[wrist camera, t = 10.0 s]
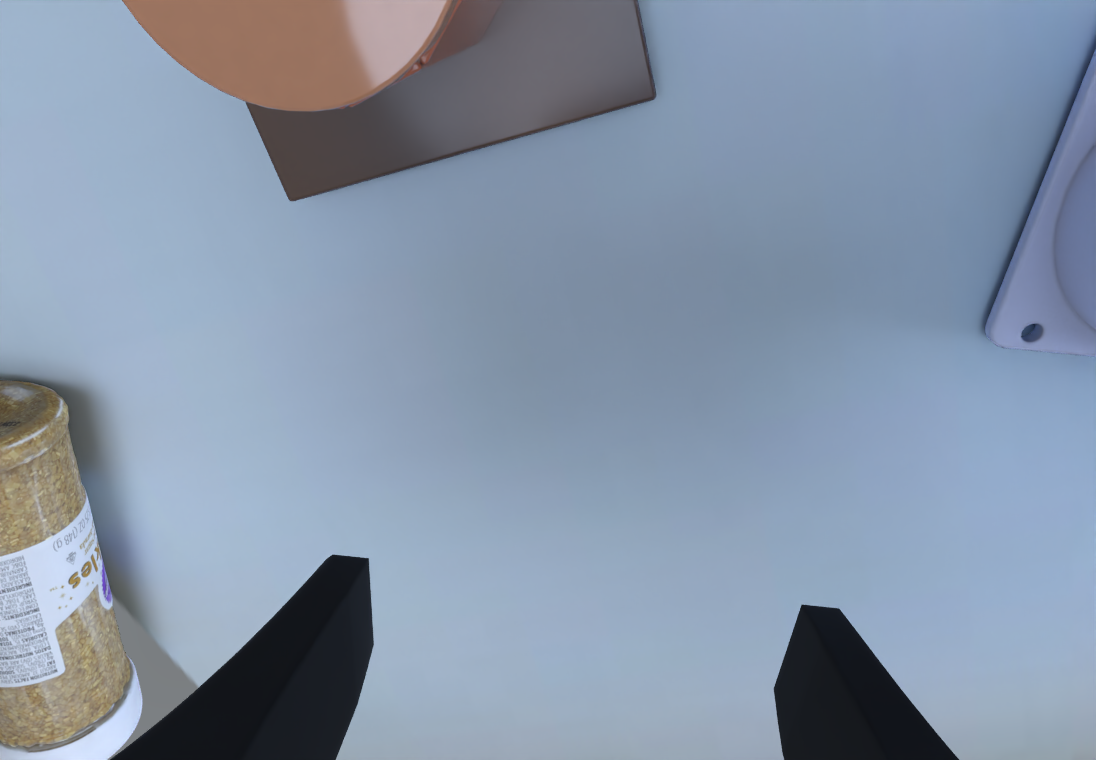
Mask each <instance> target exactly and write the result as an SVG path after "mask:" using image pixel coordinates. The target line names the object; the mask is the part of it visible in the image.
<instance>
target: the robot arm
mask: <svg viewBox="0 0 1096 760" xmlns="http://www.w3.org/2000/svg"><path fill="white" fill-rule="evenodd" d="M1030 324H1035V328H1034V330H1033V331H1032V332H1031V333H1029V334H1028V335H1024V336H1021V332H1022V331H1023V329H1024V328H1025V327H1027V326H1028V325H1030ZM985 332H986V336H987V337H988V338H989V339H990V340H991V341H992V342H993V343H994V344H995V345H997V346H999V347H1002V348H1009V349H1020V350H1030V351H1040V352H1051V353H1061V354H1071V355H1082V356H1092V357H1096V49H1095V51H1094V54H1093V56H1092V59H1091V62H1090V64H1089V67H1088V69H1087V72H1086V74H1085V77H1084V79H1083V82H1082V84H1081V87H1080V89H1079V92H1078V94H1077V97H1076V99H1075V102H1074V104H1073V107H1072V109H1071V112H1070V114H1069V117H1068V119H1067V122H1066V124H1065V127H1064V129H1063V132H1062V134H1061V137H1060V139H1059V142H1058V144H1057V147H1056V149H1055V152H1054V154H1053V157H1052V159H1051V162H1050V164H1049V167H1048V169H1047V172H1046V174H1045V177H1044V179H1043V182H1042V184H1041V187H1040V190H1039V192H1038V195H1037V197H1036V200H1035V202H1034V205H1033V207H1032V210H1031V212H1030V215H1029V217H1028V220H1027V222H1026V225H1025V227H1024V230H1023V232H1022V235H1021V237H1020V240H1019V242H1018V245H1017V247H1016V250H1015V252H1014V255H1013V257H1012V260H1011V262H1010V265H1009V267H1008V270H1007V272H1006V275H1005V277H1004V280H1003V282H1002V285H1001V287H1000V290H999V292H998V295H997V297H996V300H995V302H994V305H993V307H992V310H991V313H990V315H989V318H988V320H987V323H986V327H985ZM373 645H374V642H373V625H372V608H371V591H370V574H369V558H360V557H350V556H341V555H332V556H330V557H329V558H327V559H326V560H325V561H324V562H323V564H322V565H321V566H320V567H319V568H318V569H317V570H316V571H315V572H314V574H313V575H312V576H311V577H310V578H309V579H308V580H307V581H306V582H305V584H304V585H303V586H302V587H301V588H300V589H299V590H298V591H297V592H296V593H295V594H294V595H293V596H292V598H291V599H290V600H289V601H288V602H287V603H286V604H285V605H284V606H283V607H282V608H281V609H280V610H279V611H278V612H277V613H276V614H275V615H274V616H273V617H272V618H271V619H270V620H269V621H268V622H267V623H266V624H265V625H264V626H263V627H262V628H261V629H260V630H259V631H258V632H257V633H256V634H255V635H254V636H253V637H252V638H251V639H250V640H249V641H248V642H247V643H246V644H245V645H244V646H243V647H242V648H241V649H240V650H239V651H238V652H237V653H236V654H235V655H234V656H233V657H232V658H231V659H230V660H229V661H228V662H227V663H225V664H224V665H223V666H222V667H221V668H220V669H219V670H218V671H217V672H216V673H214V674H213V675H212V676H211V677H210V678H209V679H208V680H207V681H206V682H205V683H203V684H202V685H201V686H200V687H199V688H198V689H197V690H196V691H195V692H194V693H193V694H191V695H190V696H189V697H188V698H187V699H186V700H184V701H183V702H182V703H181V704H180V705H179V706H177V707H176V708H175V709H174V710H173V711H171V712H170V713H169V714H168V715H167V716H166V717H164V718H163V719H162V720H161V721H159V722H158V723H157V724H156V725H154V726H153V727H152V728H151V729H149V730H148V731H147V732H146V733H144V734H143V735H142V736H140V737H139V738H138V739H137V740H136V741H134V742H133V743H132V744H130V745H129V746H128V747H126V748H125V749H124V750H123V751H121V752H120V753H118V754H117V755H116V756H114V757H113V758H112V759H110V760H336V757H337V755H338V752H339V750H340V747H341V745H342V742H343V740H344V737H345V735H346V732H347V730H348V727H349V724H350V722H351V719H352V717H353V714H354V712H355V709H356V706H357V704H358V700H359V697H360V693H361V690H362V686H363V683H364V679H365V675H366V672H367V668H368V664H369V660H370V657H371V653H372V649H373ZM774 694H775V702H776V710H777V718H778V725H779V732H780V739H781V745H782V752H783V756H784V760H959V759H958V758H957V757H956V756H955V754H954V753H953V752H952V751H951V750H950V749H949V747H948V746H947V745H946V744H945V743H944V742H943V740H942V739H941V738H940V737H939V736H938V734H937V733H936V732H935V731H934V729H933V728H932V727H931V726H930V724H929V723H928V722H927V721H926V720H925V718H924V717H923V716H922V715H921V713H920V712H919V711H918V710H917V709H916V707H915V706H914V705H913V704H912V702H911V701H910V700H909V699H908V697H907V696H906V695H905V694H904V692H903V691H902V690H901V689H900V687H899V686H898V685H897V683H896V682H895V681H894V680H893V678H892V677H891V676H890V674H889V673H888V672H887V670H886V669H885V668H884V667H883V665H882V664H881V663H880V661H879V660H878V659H877V657H876V656H875V655H874V653H873V652H872V651H871V650H870V648H869V647H868V646H867V644H866V643H865V642H864V640H863V639H862V638H861V636H860V635H859V634H858V632H857V631H856V630H855V628H854V627H853V626H852V625H851V623H850V622H849V621H848V619H847V618H846V617H845V615H844V614H843V613H842V612H841V610H840V609H838V608H829V607H819V606H810V605H801V608H800V611H799V614H798V617H797V620H796V623H795V626H794V629H793V632H792V636H791V639H790V642H789V645H788V648H787V651H786V654H785V657H784V660H783V663H782V666H781V669H780V672H779V675H778V678H777V681H776V684H775V687H774Z"/></svg>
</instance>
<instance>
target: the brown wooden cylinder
mask: <svg viewBox="0 0 1096 760" xmlns="http://www.w3.org/2000/svg"><path fill="white" fill-rule="evenodd" d="M122 1H123V2H124V4H125V5H126V6H127V8H128V9H129V10H130V12H131V13H132V15H133V16H134V17H135V19H136V20H137V21H138V23H139V24H140V25H141V26H142V27H143V28H144V29H145V31H146V32H147V33H148V34H149V35H150V36H151V37H152V38H153V40H154V41H155V42H156V43H157V44H158V45H159V46H160V47H161V48H162V49H164V50H165V51H166V52H167V53H168V54H169V55H170V56H171V57H172V58H173V59H174V60H176V61H177V62H178V63H179V64H181V65H182V66H183V67H185V68H186V69H187V70H189V71H190V72H191V73H193V74H194V75H195V76H197V77H198V78H200V79H201V80H203V81H205V82H206V83H208V84H210V85H212V86H213V87H215V88H217V89H218V90H220V91H222V92H224V93H227V94H229V95H231V96H233V97H236V98H238V99H240V100H243V101H245V102H249V103H252V104H256V105H259V106H262V107H266V108H271V109H277V110H284V111H294V112H315V111H323V110H331V109H344V108H347V107H354V106H356V105H358V104H360V103H362V102H364V101H366V100H368V99H370V98H372V97H374V96H376V95H379V94H381V93H383V92H385V91H387V90H389V89H391V88H393V87H395V86H397V85H399V84H401V83H403V82H405V81H407V80H409V79H411V78H413V77H415V76H418V75H420V74H422V73H424V72H426V71H428V70H430V69H431V68H433V67H435V66H437V65H439V64H441V63H442V62H444V61H446V60H448V59H450V58H452V57H454V56H455V55H457V54H459V53H461V52H463V51H465V50H466V49H468V48H470V47H472V46H474V45H476V44H477V41H479V40H481V39H482V37H483V35H484V34H485V32H486V30H487V28H488V27H489V25H490V23H491V21H492V20H493V18H494V16H495V14H496V13H497V11H498V9H499V7H500V6H501V4H502V2H503V1H504V0H122Z"/></svg>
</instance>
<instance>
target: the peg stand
mask: <svg viewBox="0 0 1096 760" xmlns="http://www.w3.org/2000/svg"><path fill="white" fill-rule="evenodd" d="M655 98H656V90H655V85H654V80H653V75H652V70H651V65H650V60H649V55H648V50H647V45H646V40H645V35H644V30H643V25H642V20H641V15H640V10H639V5H638V0H504V1H503V2H502V4H501V6H500V7H499V9H498V11H497V13H496V14H495V16H494V18H493V20H492V21H491V23H490V25H489V27H488V28H487V30H486V32H485V34H484V35H483V37H482V39H481V40H479V41H477V44H476V45H474V46H472V47H470V48H468V49H466V50H465V51H463V52H461V53H459V54H457V55H455V56H454V57H452V58H450V59H448V60H446V61H444V62H442V63H441V64H439V65H437V66H435V67H433V68H431V69H430V70H428V71H426V72H424V73H422V74H420V75H418V76H415V77H413V78H411V79H409V80H407V81H405V82H403V83H401V84H399V85H397V86H395V87H393V88H391V89H389V90H387V91H385V92H383V93H381V94H379V95H376V96H374V97H372V98H370V99H368V100H366V101H364V102H362V103H360V104H358V105H356V106H354V107H347V108H344V109H331V110H323V111H315V112H294V111H284V110H277V109H271V108H266V107H262V106H259V105H256V104H252V103H249V102H246V105H247V107H248V109H249V111H250V114H251V116H252V118H253V120H254V123H255V125H256V127H257V129H258V132H259V134H260V136H261V138H262V141H263V143H264V145H265V147H266V150H267V152H268V154H269V156H270V159H271V161H272V163H273V165H274V168H275V170H276V172H277V174H278V177H279V179H280V181H281V183H282V186H283V188H284V190H285V192H286V195H287V197H288V199H289V200H290V201H297V200H300V199H304V198H307V197H311V196H315V195H318V194H322V193H325V192H329V191H332V190H336V189H339V188H343V187H346V186H350V185H354V184H357V183H361V182H364V181H368V180H371V179H375V178H378V177H382V176H385V175H389V174H392V173H396V172H400V171H403V170H407V169H410V168H414V167H417V166H421V165H424V164H428V163H431V162H435V161H438V160H442V159H446V158H449V157H453V156H456V155H460V154H463V153H467V152H470V151H474V150H477V149H481V148H485V147H488V146H492V145H495V144H499V143H502V142H506V141H509V140H513V139H516V138H520V137H523V136H527V135H531V134H534V133H538V132H541V131H545V130H548V129H552V128H555V127H559V126H562V125H566V124H569V123H573V122H577V121H580V120H584V119H587V118H591V117H594V116H598V115H601V114H605V113H608V112H612V111H616V110H619V109H623V108H626V107H630V106H633V105H637V104H640V103H644V102H647V101H651V100H653V99H655Z"/></svg>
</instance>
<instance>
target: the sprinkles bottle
mask: <svg viewBox="0 0 1096 760" xmlns="http://www.w3.org/2000/svg"><path fill="white" fill-rule="evenodd" d="M68 411H69V410H68V406H67V404H66V403H65V402H64V400H63V398H62V397H61V396H59V395H58V394H57V393H56V392H55V391H54V390H52V389H49V388H48V387H45V386H42V385H37V384H34V383H31V382H21V381H7V380H0V760H107V759H108V758H109V757H111V756H112V755H113V754H114V753H115V752H117V751H118V750H119V749H120V748H121V747H122V745H123V744H124V743H125V742H126V741H127V740H128V738H129V737H130V735H131V734H132V732H133V731H134V729H135V727H136V726H137V724H138V721H139V718H140V716H141V711H142V702H143V701H142V694H141V690H140V684H139V680H138V676H137V672H136V669H135V666H134V663H133V662H132V660H131V659H130V657H128V656H127V655H126V652H124V649H123V644H122V642H121V639H120V633H119V630H118V625H117V621H116V618H115V613H114V610H113V606H112V603H113V600H112V594H111V590H110V586H109V583H108V579H107V575H106V571H105V568H104V563H103V559H102V555H101V551H100V547H99V543H98V539H97V534H96V530H95V525H94V521H93V517H92V513H91V508H90V504H89V501H88V497H87V493H86V490H85V488H84V487H83V485H82V484H81V477H80V473H79V469H78V465H77V461H76V457H75V454H74V451H73V446H72V443H71V437H70V433H69V428H68V422H69V415H68Z"/></svg>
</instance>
